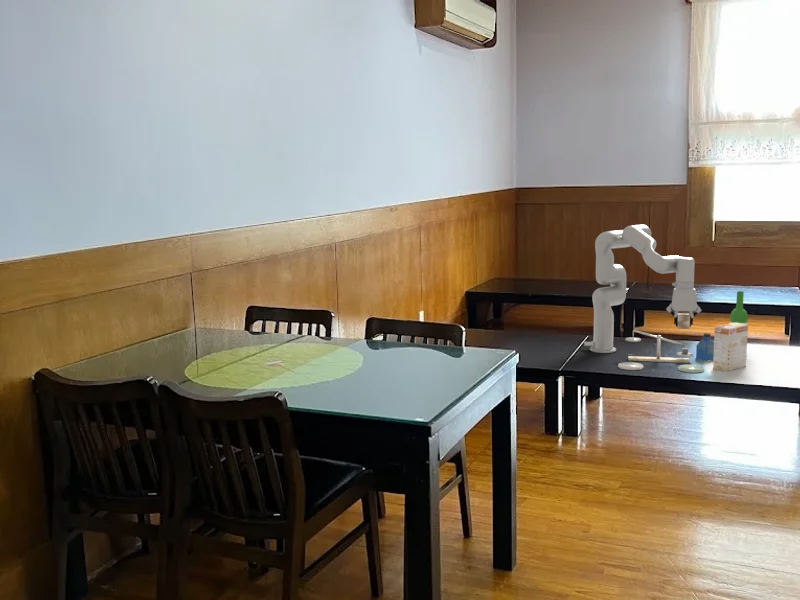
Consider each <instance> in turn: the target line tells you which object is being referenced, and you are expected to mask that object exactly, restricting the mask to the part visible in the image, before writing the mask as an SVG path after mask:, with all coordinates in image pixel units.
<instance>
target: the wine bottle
mask: <svg viewBox="0 0 800 600" xmlns="http://www.w3.org/2000/svg"><path fill="white" fill-rule="evenodd" d="M735 304H736V305H735V308H733V310H732V311H731V313H730V316H729V317H730V318H729V324H730V323H735V322H736V323H742V324H747V325H748V317H749V314H748V312H747V311H746V309H744V291H739V290H738V291H737V292H736V302H735Z"/></svg>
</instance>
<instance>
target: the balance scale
mask: <svg viewBox="0 0 800 600" xmlns="http://www.w3.org/2000/svg"><path fill="white" fill-rule="evenodd" d="M634 333H638V334H640V335H645V336H648V337H652V338H654V339H655V338H656V356H639V355H638V356H636V355H633V356H632V355H631V356H627V360H628V361H627V362H632V361H633V362H634V361H635V362H654V363H655V362H657V363H658V362H659V363H678V364H679V363H681V364H689V363H690V358H691V357H693V354H694V353H692V352H689V349H688V347H686V343H684V342H679V341H676V340H673V339H669V338H665V337H662V335H660V334H657V335H655V334H652V333H648V332H645V331H644V332H643V331H641V330H637V329H633V330H632V337H631V336H630V337H625V341H626V342H630V343H632V342H633V343H636V342H641V341H642V338H640V337H634ZM662 341H666V342H669V343H672V344H676V345H679V346H683V347H682V348H681V351H680V352H679V351H678V352H676V356H679V357H662V356H661V347H662V346H661V343H662ZM688 357H689V358H688Z"/></svg>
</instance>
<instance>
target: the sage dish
mask: <svg viewBox="0 0 800 600" xmlns="http://www.w3.org/2000/svg"><path fill="white" fill-rule="evenodd" d="M677 369H678V371H679V372H683V373H690V374H696V373H697V374H699V373H704V372H705V367H703V366H701V365H698V364H680V365H678V367H677ZM703 371H704V372H703Z"/></svg>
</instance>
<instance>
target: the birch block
mask: <svg viewBox="0 0 800 600" xmlns="http://www.w3.org/2000/svg"><path fill="white" fill-rule="evenodd" d="M677 317H678V326H677V327H676V328H677V329H679V330H690V328H691V327H690V313H686V312H685V313H682V312H681V313H679V312H678V315H677Z"/></svg>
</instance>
